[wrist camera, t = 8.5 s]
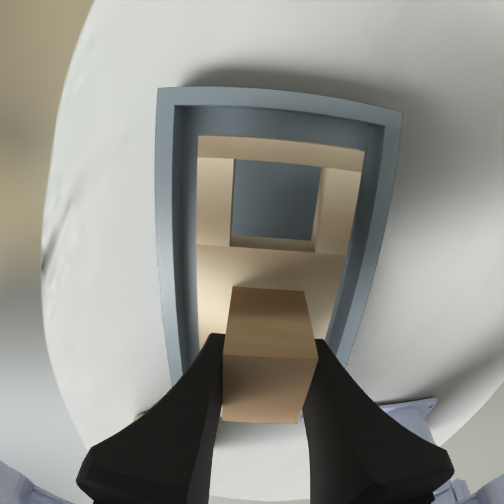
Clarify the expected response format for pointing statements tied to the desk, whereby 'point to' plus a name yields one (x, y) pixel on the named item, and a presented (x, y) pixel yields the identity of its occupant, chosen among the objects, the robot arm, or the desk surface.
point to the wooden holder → (270, 275)
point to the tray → (266, 194)
